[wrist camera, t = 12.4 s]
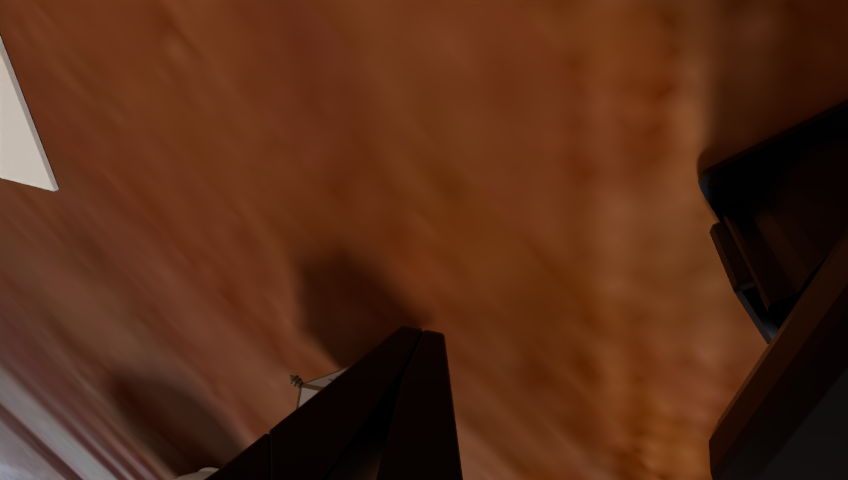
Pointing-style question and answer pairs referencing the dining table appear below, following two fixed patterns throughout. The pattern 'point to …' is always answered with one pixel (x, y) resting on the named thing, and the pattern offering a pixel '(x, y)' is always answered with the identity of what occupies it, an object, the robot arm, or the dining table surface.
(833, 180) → the robot arm
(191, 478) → the lidded bowl
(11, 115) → the mat
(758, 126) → the dining table surface
